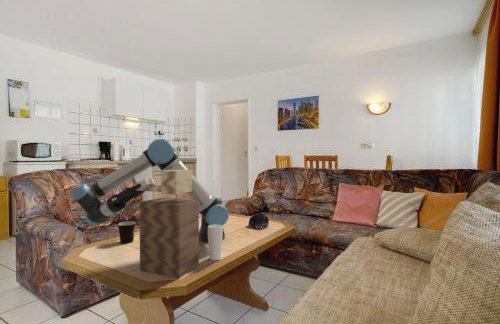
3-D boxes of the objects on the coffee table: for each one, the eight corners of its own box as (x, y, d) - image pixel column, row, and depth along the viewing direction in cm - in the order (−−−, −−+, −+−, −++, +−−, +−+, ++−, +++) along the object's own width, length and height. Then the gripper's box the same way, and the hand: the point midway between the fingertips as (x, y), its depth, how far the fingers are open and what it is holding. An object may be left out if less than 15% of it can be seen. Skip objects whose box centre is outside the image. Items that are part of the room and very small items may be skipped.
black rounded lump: (247, 225, 191) (246, 211, 190) (266, 223, 193) (265, 209, 192) (250, 232, 178) (248, 217, 177) (270, 229, 180) (269, 214, 179)
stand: (139, 270, 112) (139, 202, 112) (162, 258, 125) (162, 197, 125) (179, 278, 106) (179, 205, 105) (198, 264, 119) (198, 199, 118)
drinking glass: (208, 256, 129) (208, 224, 129) (222, 256, 130) (222, 224, 129) (207, 261, 122) (207, 228, 122) (222, 261, 123) (222, 227, 123)
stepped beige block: (125, 191, 116) (125, 169, 116) (144, 188, 126) (144, 168, 126) (176, 194, 107) (176, 171, 107) (191, 191, 118) (191, 170, 117)
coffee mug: (129, 244, 145) (129, 225, 145) (114, 243, 147) (114, 224, 146) (141, 238, 156) (141, 220, 156) (128, 237, 158) (128, 219, 158)
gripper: (130, 209, 133) (165, 186, 125) (101, 216, 117) (139, 190, 110) (124, 195, 134) (158, 172, 126) (95, 200, 119) (132, 174, 111)
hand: (149, 180), depth 118 cm, fingers closed on stepped beige block, 3 cm apart
